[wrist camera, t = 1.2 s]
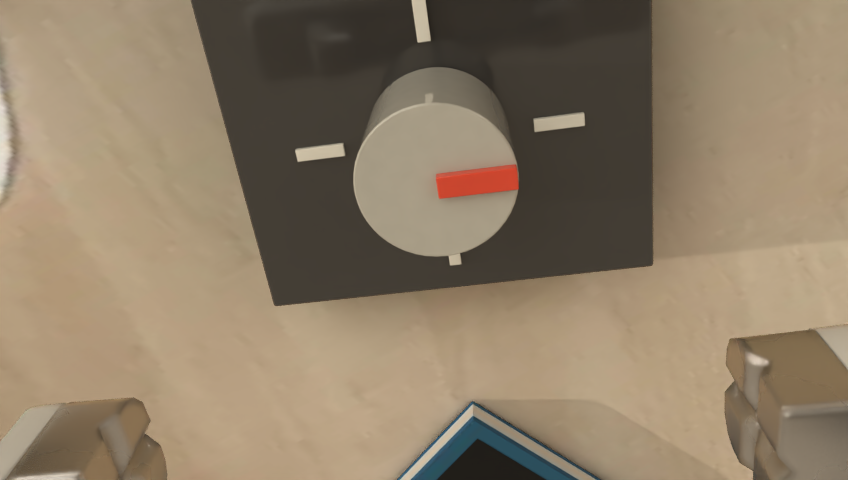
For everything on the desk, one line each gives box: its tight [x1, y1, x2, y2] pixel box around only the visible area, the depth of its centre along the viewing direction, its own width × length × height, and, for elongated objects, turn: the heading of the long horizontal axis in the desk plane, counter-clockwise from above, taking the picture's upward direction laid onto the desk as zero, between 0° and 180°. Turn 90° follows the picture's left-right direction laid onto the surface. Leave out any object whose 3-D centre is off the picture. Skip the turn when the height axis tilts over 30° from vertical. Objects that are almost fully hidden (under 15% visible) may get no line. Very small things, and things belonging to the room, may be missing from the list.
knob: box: [353, 67, 519, 257], centre depth 19 cm, size 4×4×4 cm
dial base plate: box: [191, 0, 653, 306], centre depth 21 cm, size 14×12×3 cm
